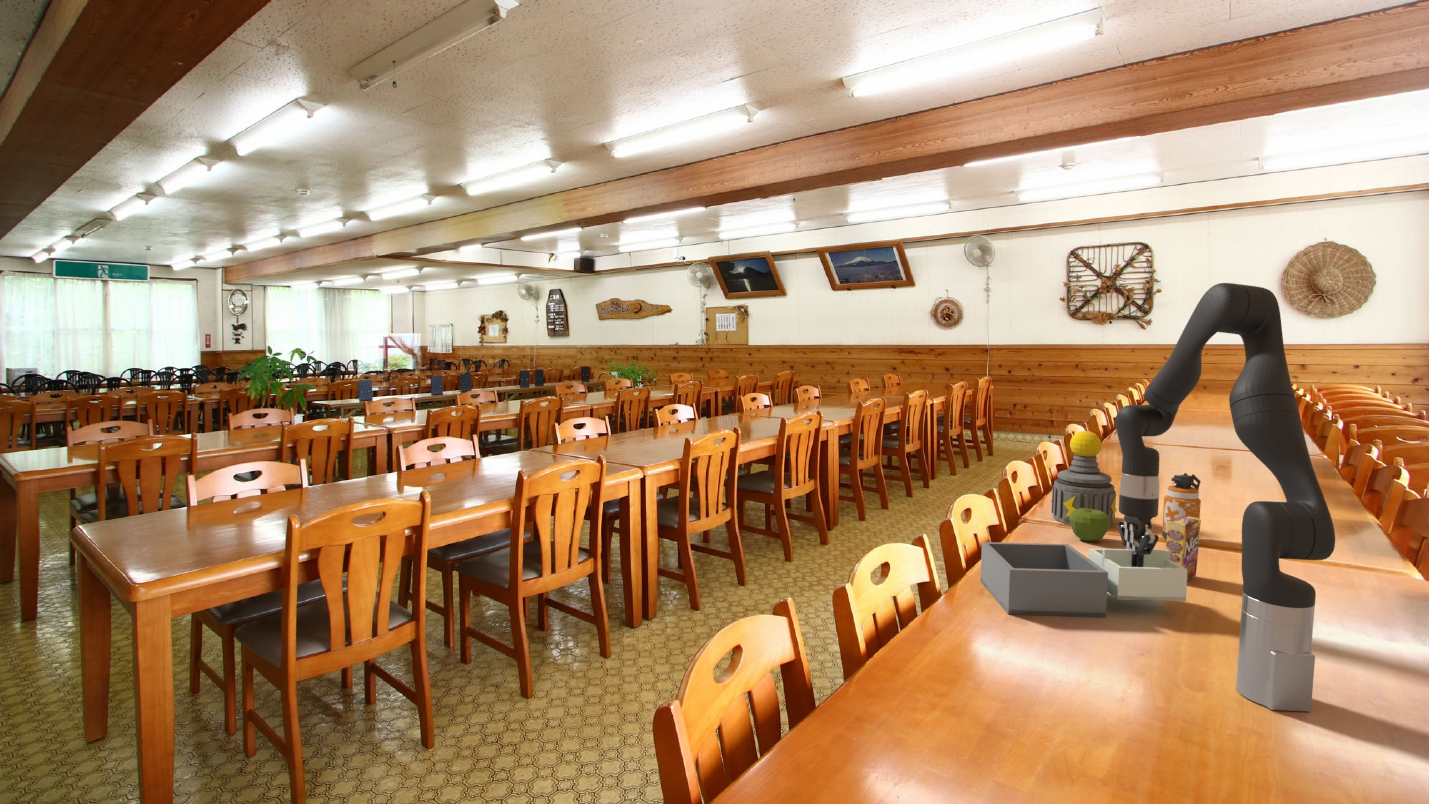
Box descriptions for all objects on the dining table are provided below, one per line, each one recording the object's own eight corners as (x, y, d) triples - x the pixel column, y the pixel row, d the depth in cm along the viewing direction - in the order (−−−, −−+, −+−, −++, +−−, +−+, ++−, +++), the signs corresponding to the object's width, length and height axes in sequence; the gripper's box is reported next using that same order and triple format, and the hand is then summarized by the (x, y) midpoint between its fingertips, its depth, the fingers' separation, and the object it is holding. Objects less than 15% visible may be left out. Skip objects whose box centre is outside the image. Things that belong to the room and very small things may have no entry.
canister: (1155, 538, 204) (1158, 472, 202) (1177, 533, 209) (1181, 469, 207) (1186, 546, 196) (1190, 478, 194) (1209, 541, 201) (1213, 474, 199)
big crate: (1105, 617, 146) (1108, 572, 145) (1008, 614, 148) (1009, 569, 147) (1065, 583, 166) (1067, 544, 166) (980, 581, 168) (981, 542, 167)
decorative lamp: (1064, 510, 237) (1068, 425, 234) (1124, 521, 223) (1128, 431, 220) (1040, 520, 225) (1044, 430, 222) (1101, 532, 211) (1106, 436, 208)
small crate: (1185, 601, 145) (1188, 560, 145) (1117, 599, 147) (1119, 558, 146) (1149, 579, 159) (1151, 541, 158) (1087, 577, 160) (1089, 540, 160)
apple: (1072, 544, 198) (1073, 510, 198) (1064, 534, 209) (1066, 502, 208) (1113, 547, 195) (1115, 513, 194) (1104, 537, 205) (1105, 504, 204)
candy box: (1181, 585, 165) (1185, 524, 164) (1162, 580, 169) (1165, 520, 167) (1197, 577, 170) (1201, 518, 169) (1178, 573, 174) (1182, 514, 172)
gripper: (1174, 500, 144) (1170, 580, 145) (1140, 487, 157) (1136, 560, 159) (1137, 500, 145) (1133, 579, 146) (1106, 487, 158) (1103, 559, 160)
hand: (1135, 569), depth 153 cm, fingers closed on small crate, 1 cm apart
